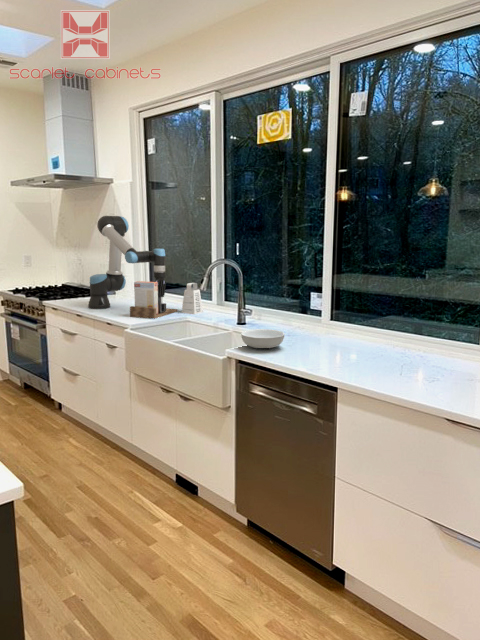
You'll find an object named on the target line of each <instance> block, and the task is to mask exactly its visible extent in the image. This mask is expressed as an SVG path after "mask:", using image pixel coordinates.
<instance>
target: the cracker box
mask: <svg viewBox="0 0 480 640" xmlns="http://www.w3.org/2000/svg"><path fill="white" fill-rule="evenodd" d="M133 285H134V286H133V289H134V290H133V293H134V306H135V307H148V308H156V314H158V282H156V281H143V280H141V281H140V280H138V281H134V282H133Z"/></svg>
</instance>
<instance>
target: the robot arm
mask: <svg viewBox="0 0 480 640" xmlns="http://www.w3.org/2000/svg"><path fill="white" fill-rule="evenodd" d="M96 225H97V230H98V232H99V233H100V234H101V235H102V236H103V237H106V238H107V239H108V240H109V248H108V249H109V252H108V270H107V271H106V272H105V273H97V274H93V275H91V276H90V277H89V294H90V297H89V301H88V306H87V307H88V308H89V309H96V310H97V309H99V310H102V309H109V308H110V307H111V303H110V300H109V297H108V292H109V293H110V292H118V291H122V290H123V289H124V288H125V287H126V282H127V281H126V278H125V276H124V273H123V272H122V254H123V255H124V259H125V262H126V263H127V264H140V263H141V264H142V263H153V278H154V279H155V282H158V297H160V298H161V303H164V301H163V298H164V297H165V292H166V285H167V281H165V278H166V250H165V248H153V251H152V250H143V251H142V250H141V251H137V250H136V249H135V248H134V247H133V246H132V245H131V244H130V243H129V242H128V241H127V240H126V239H125V238H124V237H125V234H126V233H128V231H129V229H130V228H129V222H128V220H127V219H126V217H124V216H121V215H103V216H101V217H100V218H99V219H98V220H97V224H96Z"/></svg>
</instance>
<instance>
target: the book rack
mask: <svg viewBox="0 0 480 640" xmlns="http://www.w3.org/2000/svg"><path fill="white" fill-rule="evenodd" d="M177 312H179V309H178V308H168V307H166V311H165V312H163V313H158V314H156V308H148V307H135V305H134V306H129V317H130V318H139V317H140V318H143V319H151V318H154V319H153V320H156V319H158V317H159V318H161V317H165V316H168V315H171V314H174V313H177ZM140 318H139V319H140ZM155 318H156V319H155Z"/></svg>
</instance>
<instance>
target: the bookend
mask: <svg viewBox="0 0 480 640" xmlns="http://www.w3.org/2000/svg"><path fill="white" fill-rule="evenodd" d="M166 308H167V303H166V302H165V303H164V302H163V303H161V298H160V297H158V313H163V312H165V311H166Z"/></svg>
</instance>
